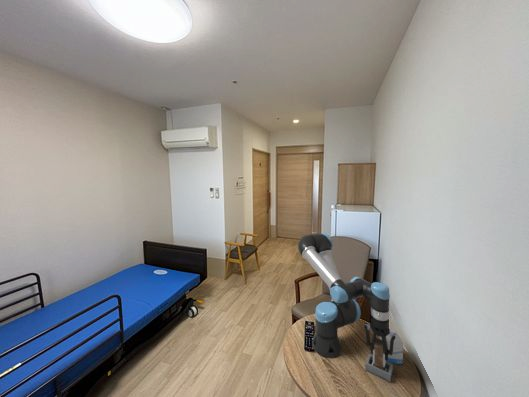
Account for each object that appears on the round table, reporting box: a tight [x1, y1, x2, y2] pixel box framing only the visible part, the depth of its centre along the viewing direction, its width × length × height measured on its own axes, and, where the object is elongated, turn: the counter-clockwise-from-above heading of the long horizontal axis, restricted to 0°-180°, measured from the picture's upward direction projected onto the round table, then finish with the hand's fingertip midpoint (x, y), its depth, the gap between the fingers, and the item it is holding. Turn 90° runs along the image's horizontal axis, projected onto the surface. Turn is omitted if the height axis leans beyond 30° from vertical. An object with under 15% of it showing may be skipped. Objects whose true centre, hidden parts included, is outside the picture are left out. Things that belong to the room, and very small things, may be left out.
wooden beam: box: [374, 337, 384, 370], centre depth 101 cm, size 4×4×13 cm
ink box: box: [379, 330, 404, 365], centre depth 109 cm, size 8×8×12 cm
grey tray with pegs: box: [364, 353, 394, 383], centre depth 102 cm, size 10×7×4 cm
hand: (379, 362), depth 101 cm, fingers closed on wooden beam, 3 cm apart
